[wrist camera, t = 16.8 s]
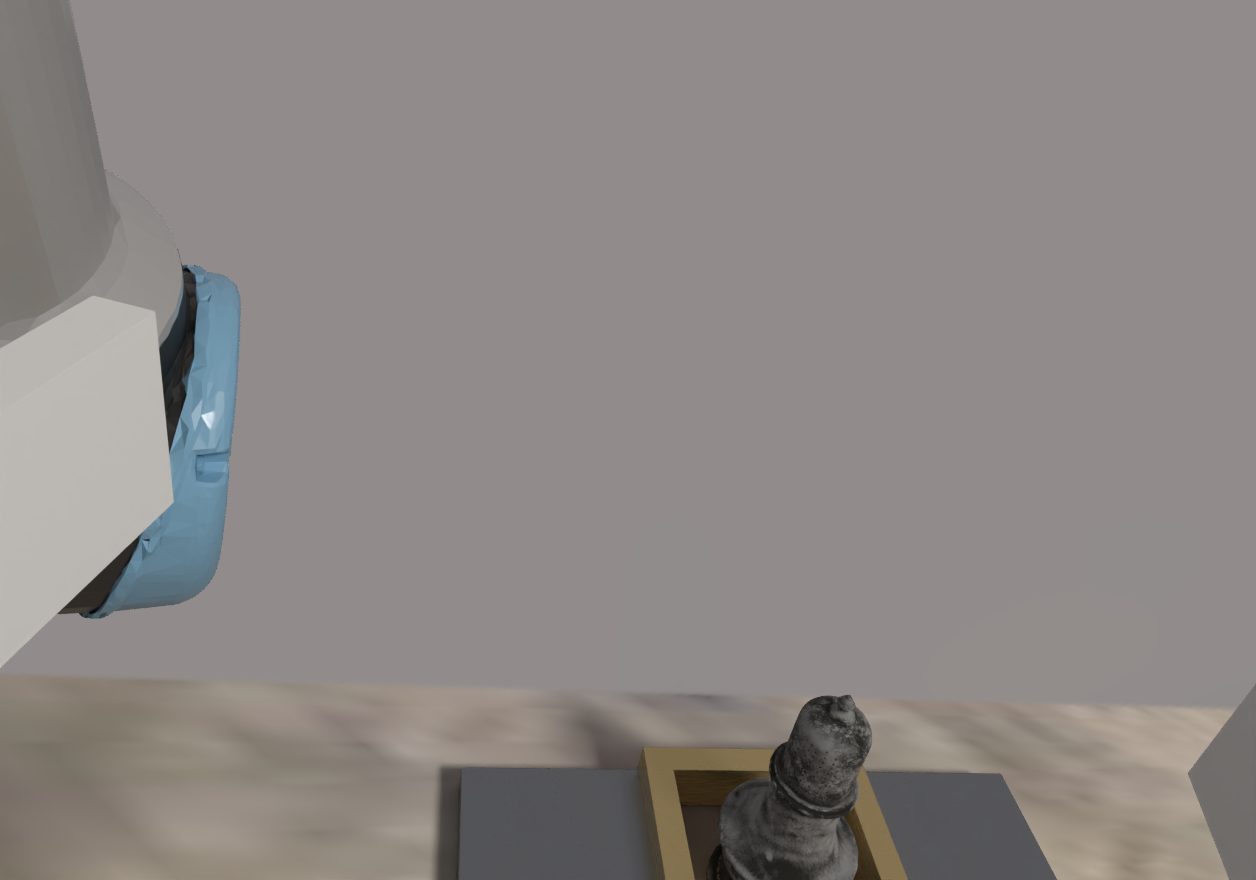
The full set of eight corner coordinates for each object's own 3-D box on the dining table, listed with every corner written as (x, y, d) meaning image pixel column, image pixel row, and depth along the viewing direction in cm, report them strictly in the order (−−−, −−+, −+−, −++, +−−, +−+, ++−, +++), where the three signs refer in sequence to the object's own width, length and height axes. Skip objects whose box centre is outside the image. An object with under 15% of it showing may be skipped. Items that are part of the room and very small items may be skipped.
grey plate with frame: (453, 1026, 34) (458, 990, 33) (459, 781, 43) (464, 744, 41) (1099, 999, 39) (1127, 967, 38) (989, 785, 48) (1009, 753, 47)
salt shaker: (788, 813, 44) (867, 626, 38) (860, 930, 40) (962, 742, 34) (677, 845, 42) (742, 651, 36) (740, 974, 38) (827, 780, 31)
